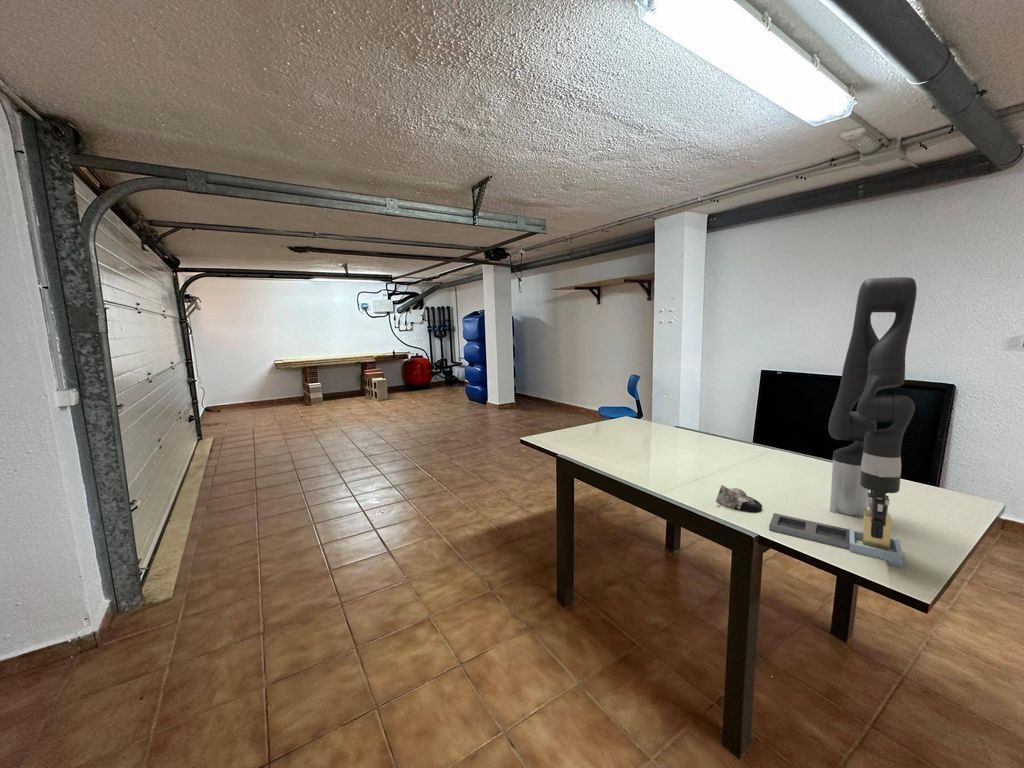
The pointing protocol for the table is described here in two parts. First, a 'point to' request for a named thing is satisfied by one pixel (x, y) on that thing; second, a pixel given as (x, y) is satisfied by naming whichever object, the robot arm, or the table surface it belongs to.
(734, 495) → the camo sneaker
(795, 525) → the grey slotted tray
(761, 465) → the table surface
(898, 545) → the parts tray
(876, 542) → the tan wooden block
